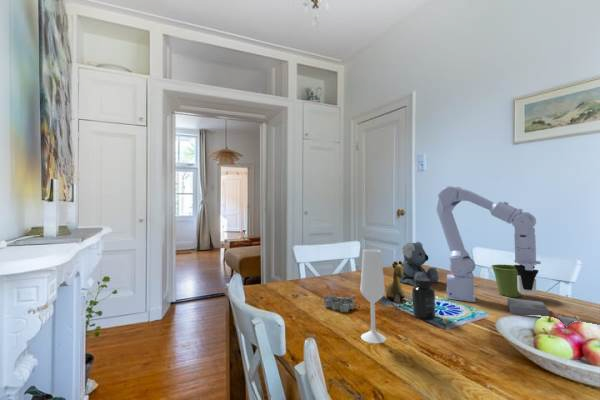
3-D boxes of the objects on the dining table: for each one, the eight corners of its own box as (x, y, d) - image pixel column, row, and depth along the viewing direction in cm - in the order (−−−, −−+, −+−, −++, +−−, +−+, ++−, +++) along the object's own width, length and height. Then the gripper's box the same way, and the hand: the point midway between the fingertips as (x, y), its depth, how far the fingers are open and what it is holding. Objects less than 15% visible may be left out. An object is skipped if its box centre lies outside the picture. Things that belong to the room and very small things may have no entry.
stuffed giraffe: (383, 307, 105) (383, 262, 106) (371, 294, 123) (372, 256, 124) (428, 309, 105) (428, 264, 106) (410, 295, 123) (410, 257, 124)
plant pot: (515, 290, 124) (514, 264, 124) (535, 299, 112) (534, 270, 112) (486, 290, 125) (485, 263, 125) (502, 299, 113) (501, 269, 113)
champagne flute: (367, 330, 85) (366, 248, 86) (389, 336, 81) (388, 250, 82) (356, 338, 80) (355, 251, 81) (379, 345, 76) (378, 253, 77)
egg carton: (357, 308, 105) (356, 297, 105) (344, 314, 100) (344, 302, 100) (333, 302, 112) (333, 291, 113) (320, 306, 107) (320, 295, 107)
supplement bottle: (434, 313, 99) (433, 277, 99) (436, 321, 92) (435, 282, 92) (412, 311, 101) (411, 276, 101) (413, 318, 94) (412, 281, 95)
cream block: (519, 293, 99) (519, 278, 99) (517, 289, 103) (517, 275, 103) (536, 294, 97) (535, 279, 97) (533, 291, 101) (533, 276, 101)
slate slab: (511, 315, 98) (510, 305, 98) (507, 306, 106) (507, 297, 107) (549, 320, 93) (549, 310, 93) (542, 310, 102) (542, 301, 102)
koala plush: (424, 289, 128) (423, 244, 129) (387, 281, 141) (386, 241, 142) (440, 282, 140) (439, 241, 140) (405, 275, 153) (404, 238, 153)
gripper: (544, 251, 92) (546, 295, 92) (535, 246, 105) (537, 284, 104) (517, 250, 96) (518, 292, 95) (511, 244, 108) (512, 282, 108)
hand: (526, 287), depth 100 cm, fingers closed on cream block, 4 cm apart
